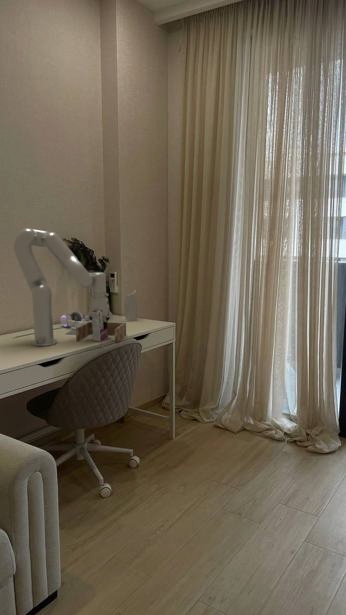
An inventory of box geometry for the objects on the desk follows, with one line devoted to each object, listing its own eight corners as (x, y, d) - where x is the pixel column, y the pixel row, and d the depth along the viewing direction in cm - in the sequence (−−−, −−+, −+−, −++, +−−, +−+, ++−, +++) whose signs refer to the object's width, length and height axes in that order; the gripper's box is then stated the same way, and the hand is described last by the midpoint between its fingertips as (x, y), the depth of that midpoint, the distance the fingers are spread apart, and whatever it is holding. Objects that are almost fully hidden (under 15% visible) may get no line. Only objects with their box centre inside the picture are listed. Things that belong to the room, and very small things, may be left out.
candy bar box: (99, 336, 252) (98, 307, 250) (108, 337, 251) (107, 307, 249) (92, 341, 241) (91, 311, 239) (101, 341, 240) (100, 311, 238)
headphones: (54, 326, 276) (84, 334, 268) (55, 314, 275) (84, 321, 266) (77, 320, 296) (105, 327, 287) (78, 309, 295) (106, 315, 286)
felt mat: (78, 334, 258) (78, 334, 258) (65, 334, 259) (65, 333, 259) (85, 330, 270) (85, 329, 270) (72, 329, 271) (72, 329, 271)
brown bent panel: (117, 342, 238) (116, 329, 237) (76, 341, 242) (75, 328, 241) (126, 334, 256) (125, 322, 255) (88, 333, 260) (87, 321, 259)
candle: (117, 319, 305) (116, 289, 302) (137, 319, 303) (137, 289, 300) (114, 321, 298) (114, 291, 294) (135, 321, 296) (135, 291, 293)
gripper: (116, 294, 245) (117, 327, 248) (86, 294, 247) (87, 327, 250) (112, 296, 238) (113, 330, 240) (81, 296, 240) (82, 329, 243)
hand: (100, 328), depth 245 cm, fingers closed on candy bar box, 5 cm apart
